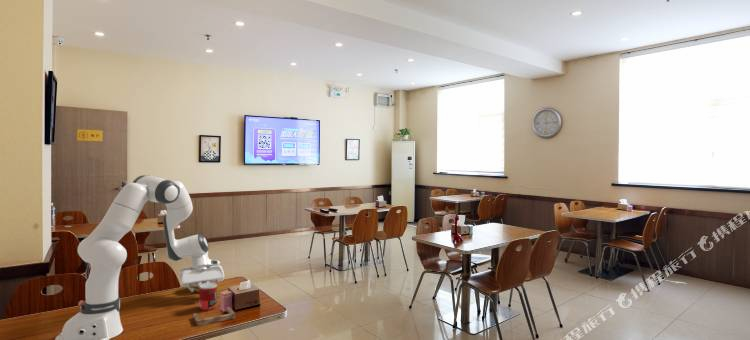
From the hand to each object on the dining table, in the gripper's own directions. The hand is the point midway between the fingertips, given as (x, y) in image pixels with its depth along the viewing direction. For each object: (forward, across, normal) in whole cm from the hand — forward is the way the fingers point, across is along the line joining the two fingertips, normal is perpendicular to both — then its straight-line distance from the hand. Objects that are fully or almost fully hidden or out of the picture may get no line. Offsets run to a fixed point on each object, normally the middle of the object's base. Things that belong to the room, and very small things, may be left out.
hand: (204, 290), depth 203 cm
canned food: (+10, 0, -2) cm, 10 cm away
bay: (+19, 0, -11) cm, 22 cm away
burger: (-10, +2, +18) cm, 20 cm away
